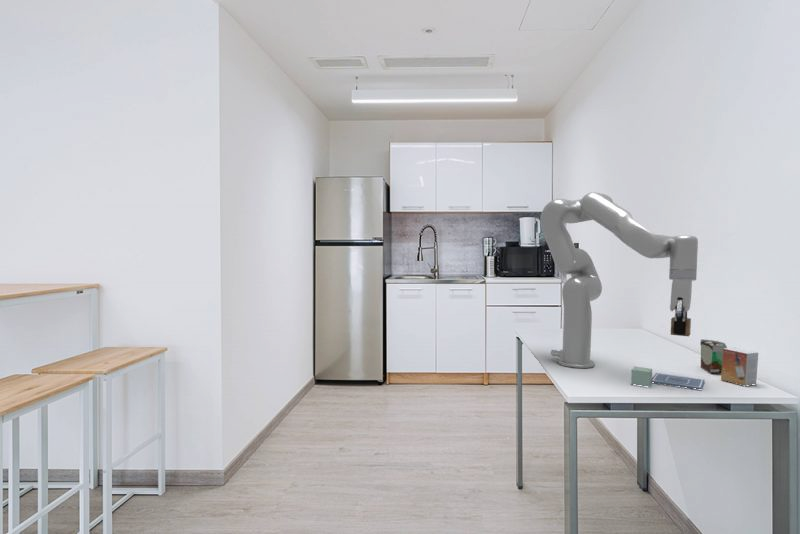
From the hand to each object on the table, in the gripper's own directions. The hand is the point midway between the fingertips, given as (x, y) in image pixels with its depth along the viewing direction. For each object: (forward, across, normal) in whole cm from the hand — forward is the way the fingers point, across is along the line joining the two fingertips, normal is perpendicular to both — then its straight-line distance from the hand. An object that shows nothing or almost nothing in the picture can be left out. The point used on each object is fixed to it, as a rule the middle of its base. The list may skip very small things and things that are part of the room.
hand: (680, 332), depth 166 cm
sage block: (+16, +10, -9) cm, 21 cm away
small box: (+16, -12, +16) cm, 26 cm away
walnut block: (+1, 0, 0) cm, 1 cm away
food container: (+16, -25, +9) cm, 31 cm away
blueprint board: (+16, 0, 0) cm, 16 cm away
